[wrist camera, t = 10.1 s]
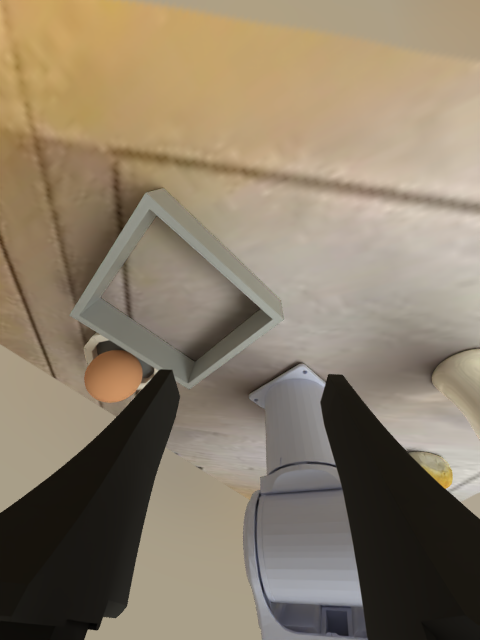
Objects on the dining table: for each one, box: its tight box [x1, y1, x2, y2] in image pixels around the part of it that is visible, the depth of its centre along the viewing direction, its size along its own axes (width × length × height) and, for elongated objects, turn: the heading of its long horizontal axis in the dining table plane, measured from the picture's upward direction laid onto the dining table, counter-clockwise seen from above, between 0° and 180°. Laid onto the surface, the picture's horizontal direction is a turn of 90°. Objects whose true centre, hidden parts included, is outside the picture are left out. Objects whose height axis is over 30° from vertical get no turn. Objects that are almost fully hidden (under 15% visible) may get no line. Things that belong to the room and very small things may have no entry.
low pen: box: [70, 188, 284, 389], centre depth 19 cm, size 12×12×3 cm
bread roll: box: [409, 452, 452, 489], centre depth 33 cm, size 8×9×4 cm
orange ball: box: [84, 350, 143, 403], centre depth 23 cm, size 5×5×5 cm
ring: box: [84, 332, 158, 389], centre depth 25 cm, size 8×8×1 cm
